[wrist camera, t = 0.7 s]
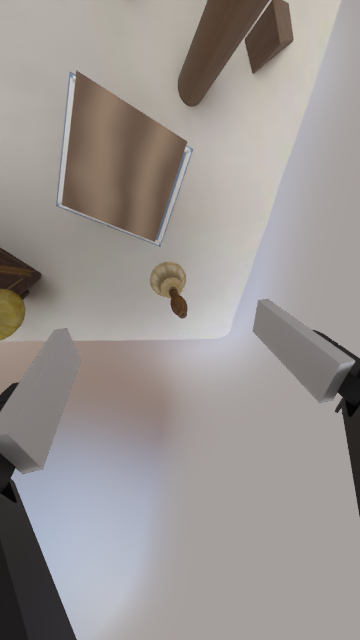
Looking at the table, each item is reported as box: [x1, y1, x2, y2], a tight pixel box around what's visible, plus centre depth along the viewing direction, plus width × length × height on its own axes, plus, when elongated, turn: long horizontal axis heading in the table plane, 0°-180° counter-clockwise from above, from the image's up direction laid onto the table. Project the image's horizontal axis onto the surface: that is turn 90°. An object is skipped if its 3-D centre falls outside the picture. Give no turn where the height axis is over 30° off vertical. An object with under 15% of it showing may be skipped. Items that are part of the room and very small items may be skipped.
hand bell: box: [150, 262, 187, 318], centre depth 36 cm, size 8×8×16 cm
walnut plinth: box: [62, 71, 187, 242], centre depth 29 cm, size 14×14×5 cm
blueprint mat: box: [56, 72, 193, 246], centre depth 31 cm, size 18×16×1 cm
